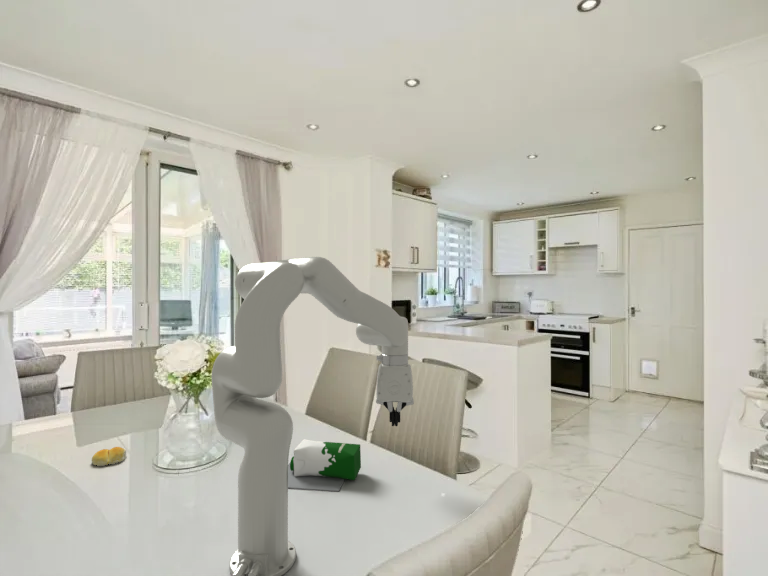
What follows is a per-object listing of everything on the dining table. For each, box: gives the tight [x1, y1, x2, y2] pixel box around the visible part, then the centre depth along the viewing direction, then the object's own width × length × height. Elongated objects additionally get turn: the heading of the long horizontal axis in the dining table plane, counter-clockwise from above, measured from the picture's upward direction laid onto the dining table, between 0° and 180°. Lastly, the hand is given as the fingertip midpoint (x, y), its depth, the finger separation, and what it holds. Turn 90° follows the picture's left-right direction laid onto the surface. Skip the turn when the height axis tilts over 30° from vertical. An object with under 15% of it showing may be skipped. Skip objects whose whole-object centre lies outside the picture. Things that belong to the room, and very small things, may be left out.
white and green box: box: [290, 438, 362, 481], centre depth 118 cm, size 9×9×20 cm
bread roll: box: [91, 446, 127, 467], centre depth 127 cm, size 8×9×4 cm
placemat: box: [288, 462, 345, 492], centre depth 117 cm, size 16×19×1 cm
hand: (394, 424), depth 115 cm, fingers closed
